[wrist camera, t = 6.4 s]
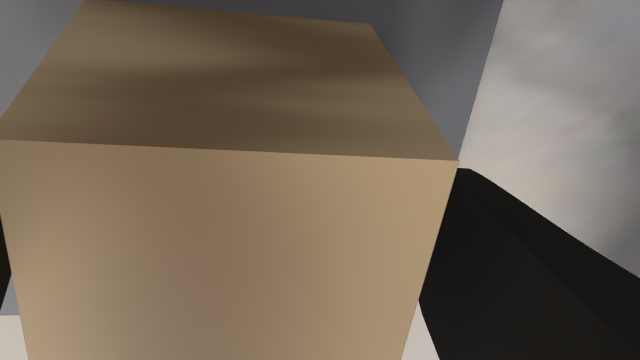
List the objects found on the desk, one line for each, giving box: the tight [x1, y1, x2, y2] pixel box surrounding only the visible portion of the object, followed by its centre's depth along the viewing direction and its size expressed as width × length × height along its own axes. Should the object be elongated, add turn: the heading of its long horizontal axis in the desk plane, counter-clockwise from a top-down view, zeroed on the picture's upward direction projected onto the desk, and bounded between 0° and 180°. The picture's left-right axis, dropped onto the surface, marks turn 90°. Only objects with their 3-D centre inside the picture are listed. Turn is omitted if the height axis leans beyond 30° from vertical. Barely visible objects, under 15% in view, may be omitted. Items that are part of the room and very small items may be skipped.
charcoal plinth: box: [0, 0, 503, 315], centre depth 13 cm, size 10×10×2 cm
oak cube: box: [0, 0, 459, 360], centre depth 10 cm, size 5×5×5 cm
